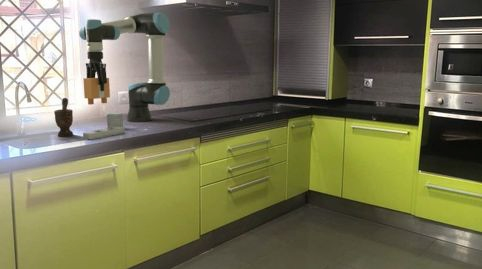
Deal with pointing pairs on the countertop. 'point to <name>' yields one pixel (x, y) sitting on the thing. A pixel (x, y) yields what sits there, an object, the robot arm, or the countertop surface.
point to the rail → (103, 132)
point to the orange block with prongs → (95, 90)
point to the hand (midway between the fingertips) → (97, 97)
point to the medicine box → (114, 120)
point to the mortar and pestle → (64, 119)
